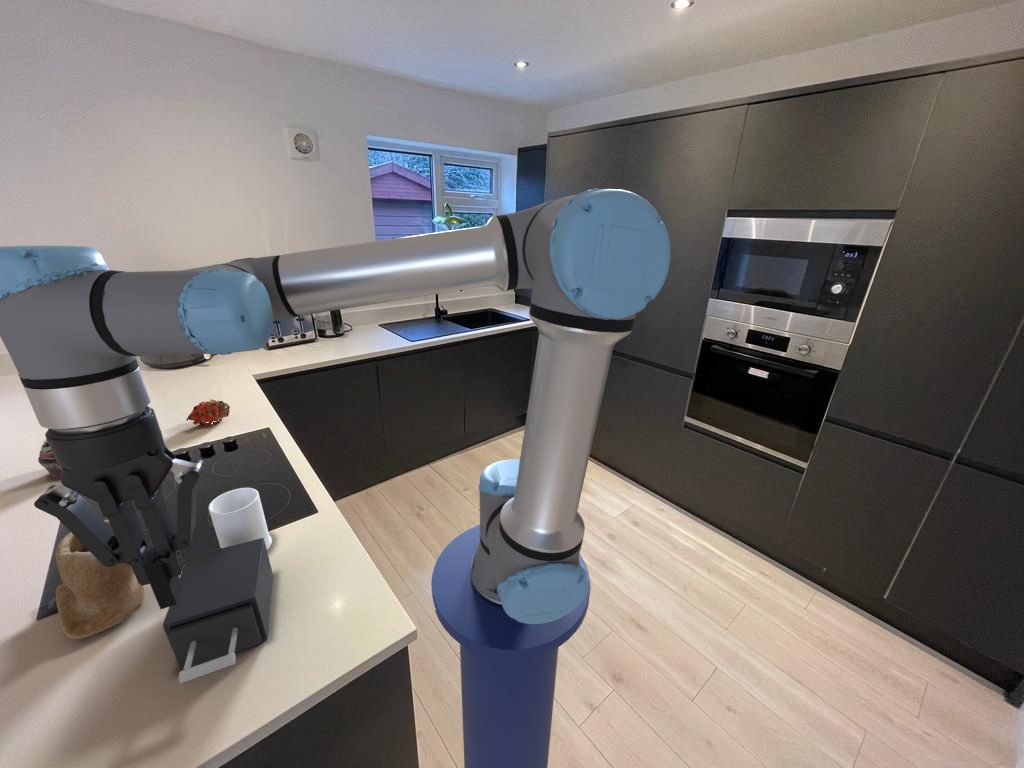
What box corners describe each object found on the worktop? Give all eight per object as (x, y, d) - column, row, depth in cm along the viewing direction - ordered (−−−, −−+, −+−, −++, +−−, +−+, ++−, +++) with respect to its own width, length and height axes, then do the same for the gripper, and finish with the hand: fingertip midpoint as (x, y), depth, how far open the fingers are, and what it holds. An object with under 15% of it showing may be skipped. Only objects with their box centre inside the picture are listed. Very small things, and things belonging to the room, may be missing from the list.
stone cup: (167, 604, 68) (139, 535, 63) (66, 656, 60) (25, 581, 54) (148, 559, 77) (123, 495, 72) (59, 598, 69) (22, 529, 64)
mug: (245, 524, 87) (233, 477, 83) (286, 522, 88) (275, 476, 83) (212, 566, 76) (195, 515, 72) (259, 564, 77) (245, 514, 72)
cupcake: (102, 469, 105) (88, 435, 101) (48, 485, 98) (31, 450, 94) (96, 456, 111) (83, 424, 107) (44, 471, 104) (28, 437, 100)
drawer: (257, 678, 57) (246, 643, 54) (170, 711, 53) (153, 674, 50) (267, 582, 72) (259, 551, 69) (201, 602, 68) (189, 569, 65)
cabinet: (267, 639, 63) (255, 596, 60) (180, 669, 58) (162, 625, 55) (273, 575, 74) (263, 537, 71) (201, 597, 70) (187, 557, 67)
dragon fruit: (237, 421, 135) (196, 438, 128) (226, 403, 137) (185, 418, 130) (233, 409, 129) (189, 425, 122) (221, 389, 131) (178, 404, 124)
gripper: (194, 392, 44) (241, 557, 52) (28, 412, 38) (112, 592, 47) (175, 420, 37) (233, 603, 46) (-26, 448, 32) (82, 649, 41)
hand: (171, 597), depth 46 cm, fingers closed
